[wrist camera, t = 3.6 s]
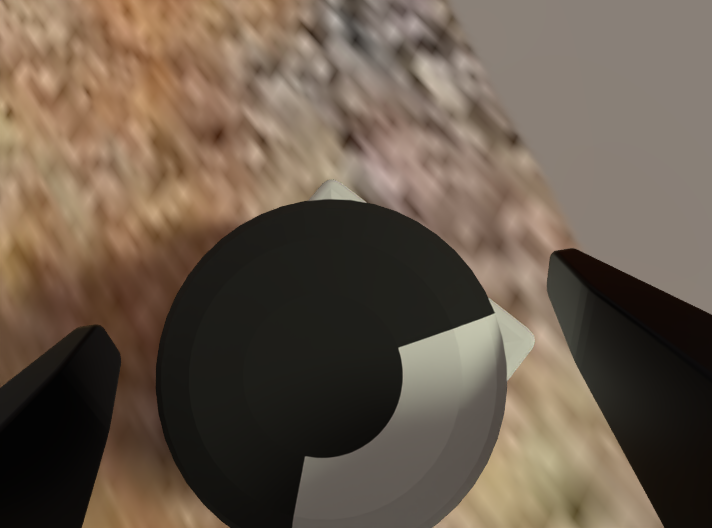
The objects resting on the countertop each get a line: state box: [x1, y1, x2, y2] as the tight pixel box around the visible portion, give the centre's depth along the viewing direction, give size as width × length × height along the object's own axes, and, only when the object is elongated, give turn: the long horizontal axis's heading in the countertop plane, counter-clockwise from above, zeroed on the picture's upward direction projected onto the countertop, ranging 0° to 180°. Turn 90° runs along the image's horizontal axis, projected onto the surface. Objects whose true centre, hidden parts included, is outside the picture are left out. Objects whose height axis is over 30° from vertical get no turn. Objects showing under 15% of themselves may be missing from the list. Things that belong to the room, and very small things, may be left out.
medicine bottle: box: [156, 179, 535, 528], centre depth 13 cm, size 7×7×12 cm
